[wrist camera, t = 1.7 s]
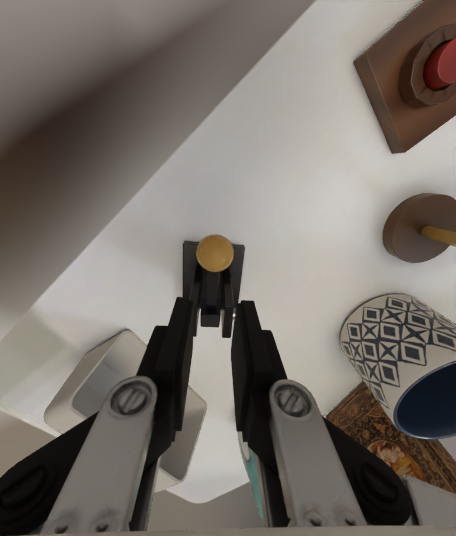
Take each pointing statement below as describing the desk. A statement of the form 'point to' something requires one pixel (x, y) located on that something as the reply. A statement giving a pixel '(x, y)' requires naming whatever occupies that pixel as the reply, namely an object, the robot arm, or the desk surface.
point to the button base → (410, 75)
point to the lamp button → (441, 66)
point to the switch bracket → (227, 285)
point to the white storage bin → (99, 385)
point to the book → (393, 440)
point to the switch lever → (213, 274)
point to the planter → (406, 363)
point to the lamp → (421, 227)
